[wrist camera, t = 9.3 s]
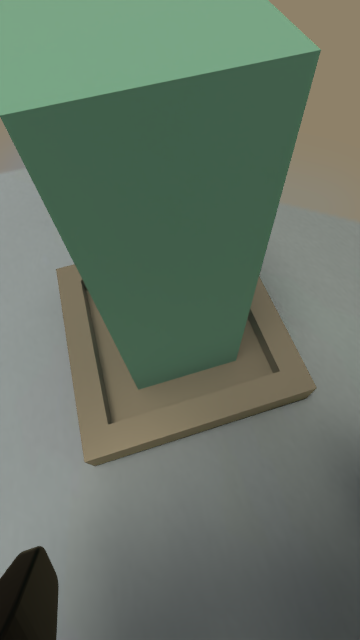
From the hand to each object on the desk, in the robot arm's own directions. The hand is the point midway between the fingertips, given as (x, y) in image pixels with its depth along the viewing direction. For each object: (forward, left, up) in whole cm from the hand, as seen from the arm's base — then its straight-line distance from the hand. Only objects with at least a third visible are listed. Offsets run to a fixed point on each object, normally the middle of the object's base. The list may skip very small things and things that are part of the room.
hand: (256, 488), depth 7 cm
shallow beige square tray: (+3, -7, -8) cm, 12 cm away
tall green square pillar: (+3, -7, -8) cm, 11 cm away
